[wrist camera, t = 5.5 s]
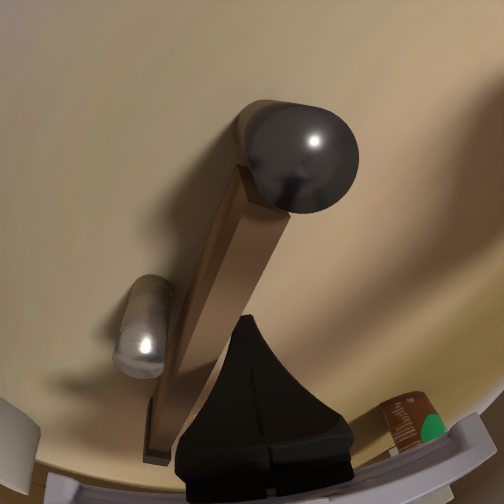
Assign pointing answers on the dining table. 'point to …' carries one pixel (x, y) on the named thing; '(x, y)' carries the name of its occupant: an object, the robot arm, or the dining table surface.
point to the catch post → (144, 329)
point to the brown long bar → (212, 306)
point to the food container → (412, 420)
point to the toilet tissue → (17, 447)
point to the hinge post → (297, 154)
